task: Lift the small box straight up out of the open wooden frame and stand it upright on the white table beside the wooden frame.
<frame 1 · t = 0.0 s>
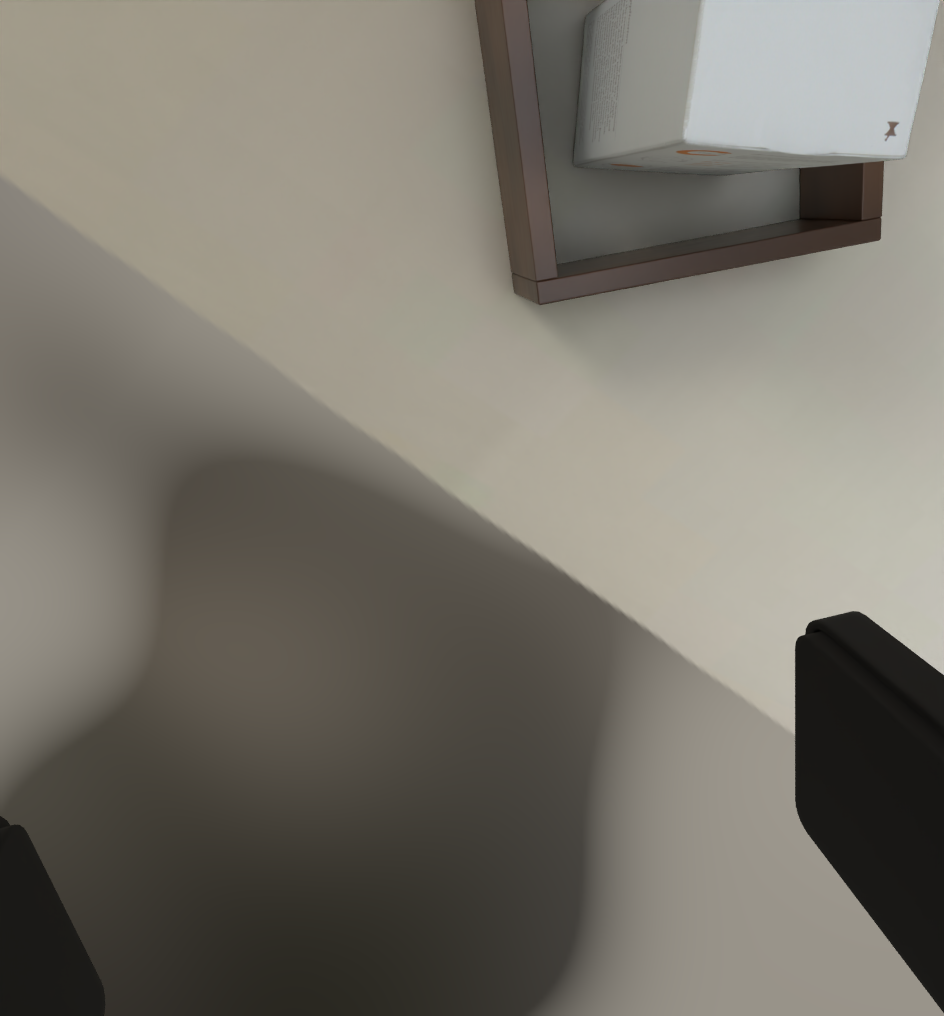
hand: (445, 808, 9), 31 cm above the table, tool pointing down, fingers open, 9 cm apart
small box: (657, 98, 36), resting in wooden frame
wooden frame: (658, 97, 36), on the table
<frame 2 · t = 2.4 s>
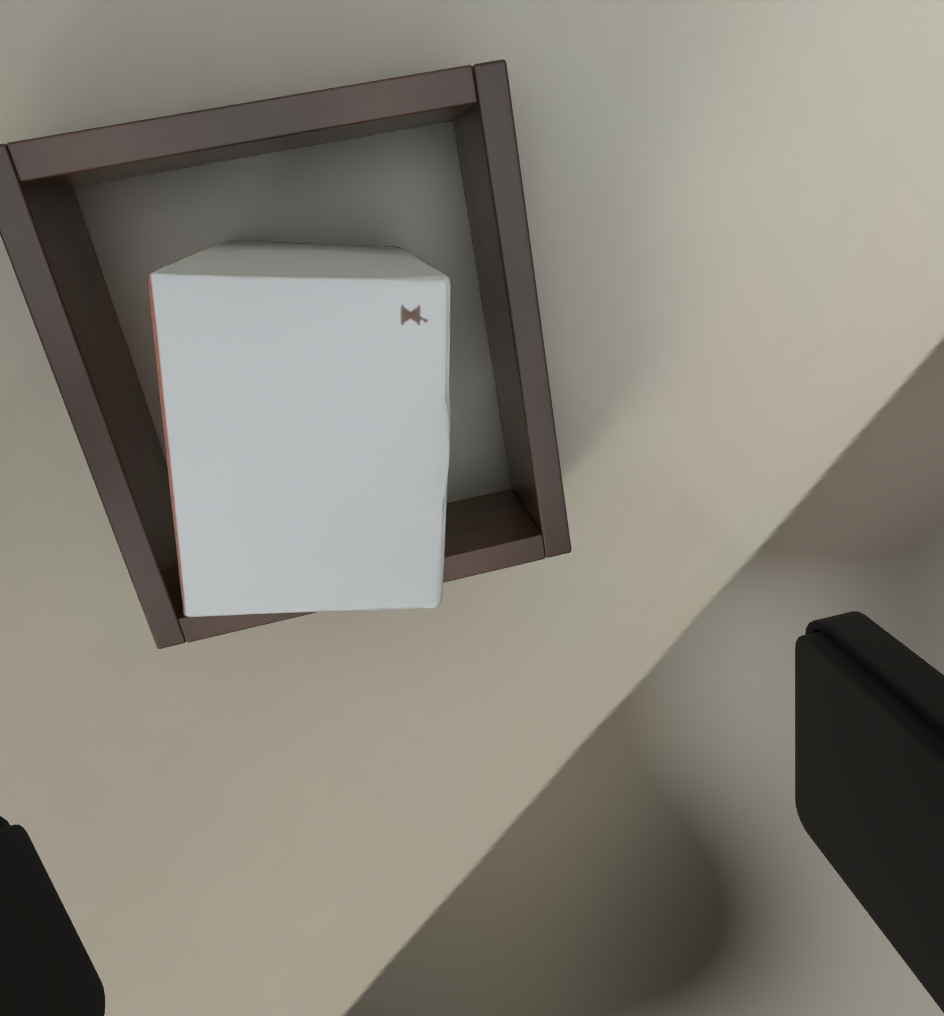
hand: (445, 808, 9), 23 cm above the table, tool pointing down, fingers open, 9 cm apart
small box: (317, 353, 30), resting in wooden frame
wooden frame: (317, 354, 29), on the table
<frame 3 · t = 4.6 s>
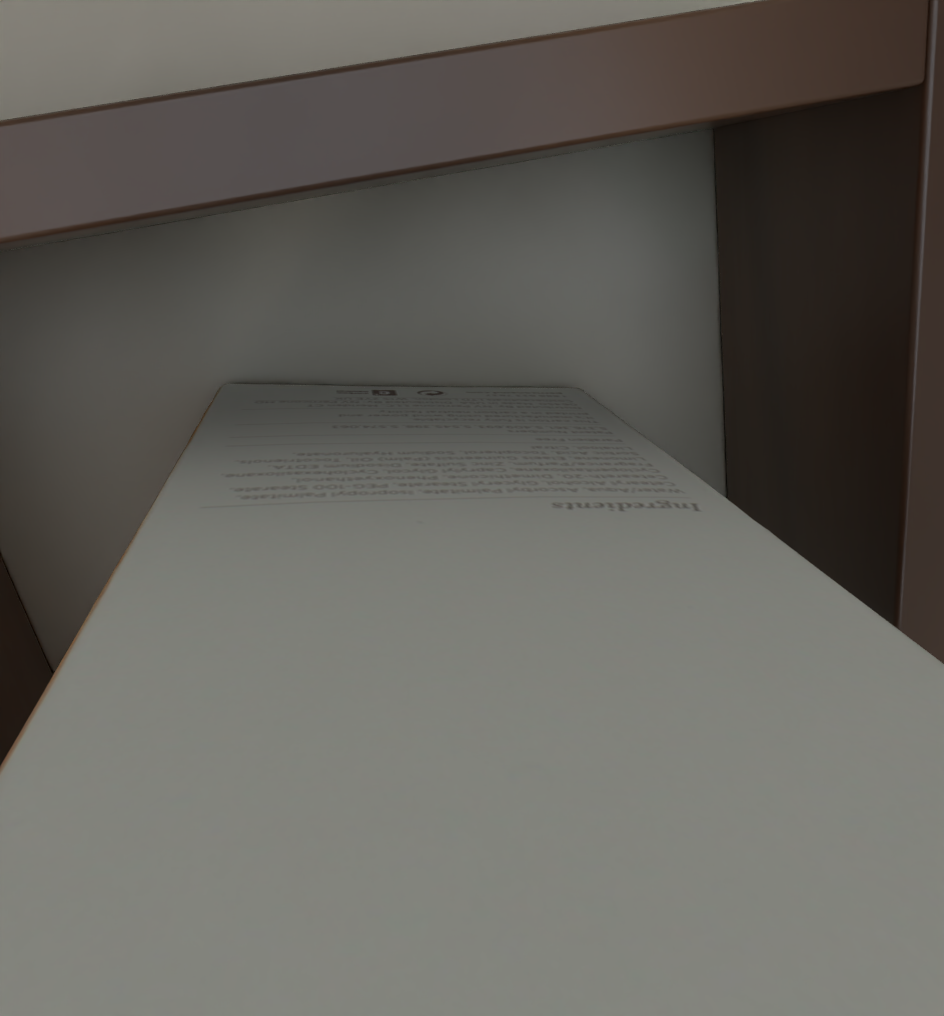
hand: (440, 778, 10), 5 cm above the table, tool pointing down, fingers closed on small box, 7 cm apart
small box: (402, 585, 15), resting in wooden frame, touching gripper
wooden frame: (403, 589, 15), on the table
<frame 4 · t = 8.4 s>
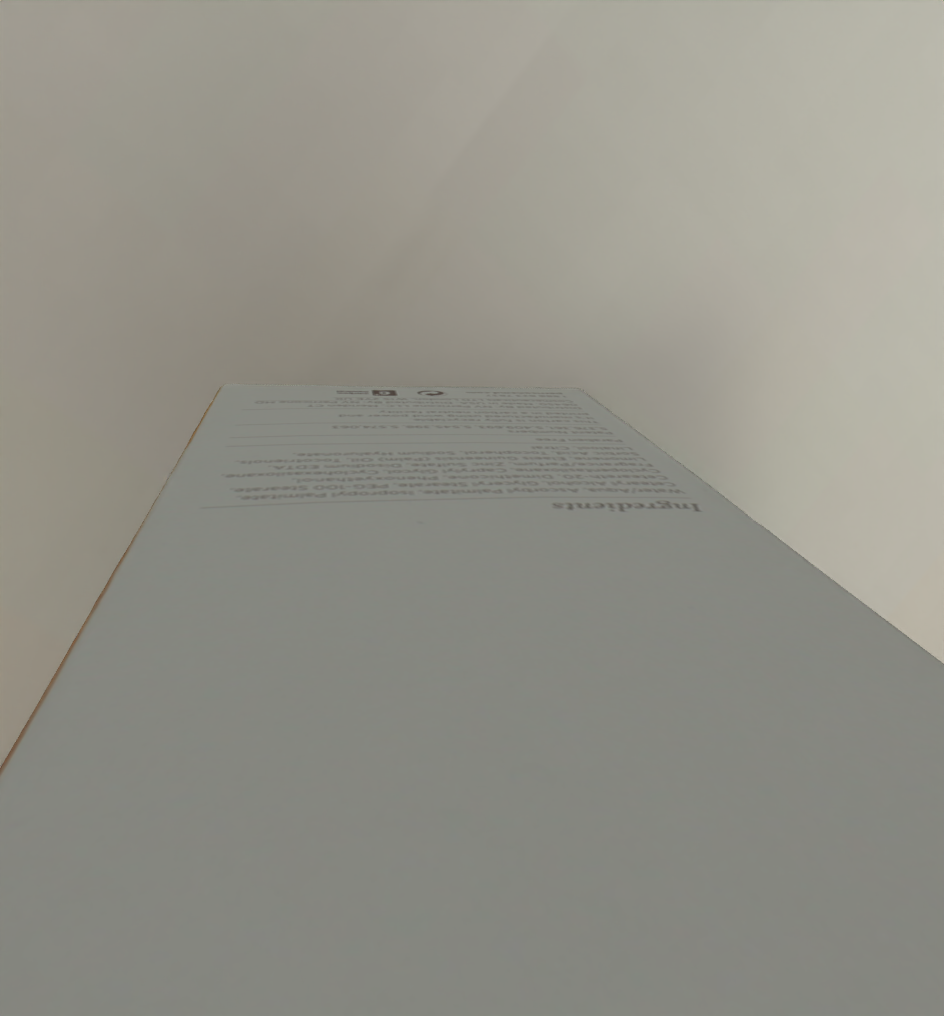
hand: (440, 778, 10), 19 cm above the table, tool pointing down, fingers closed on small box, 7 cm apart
small box: (402, 585, 15), point 14 cm above the table, touching gripper
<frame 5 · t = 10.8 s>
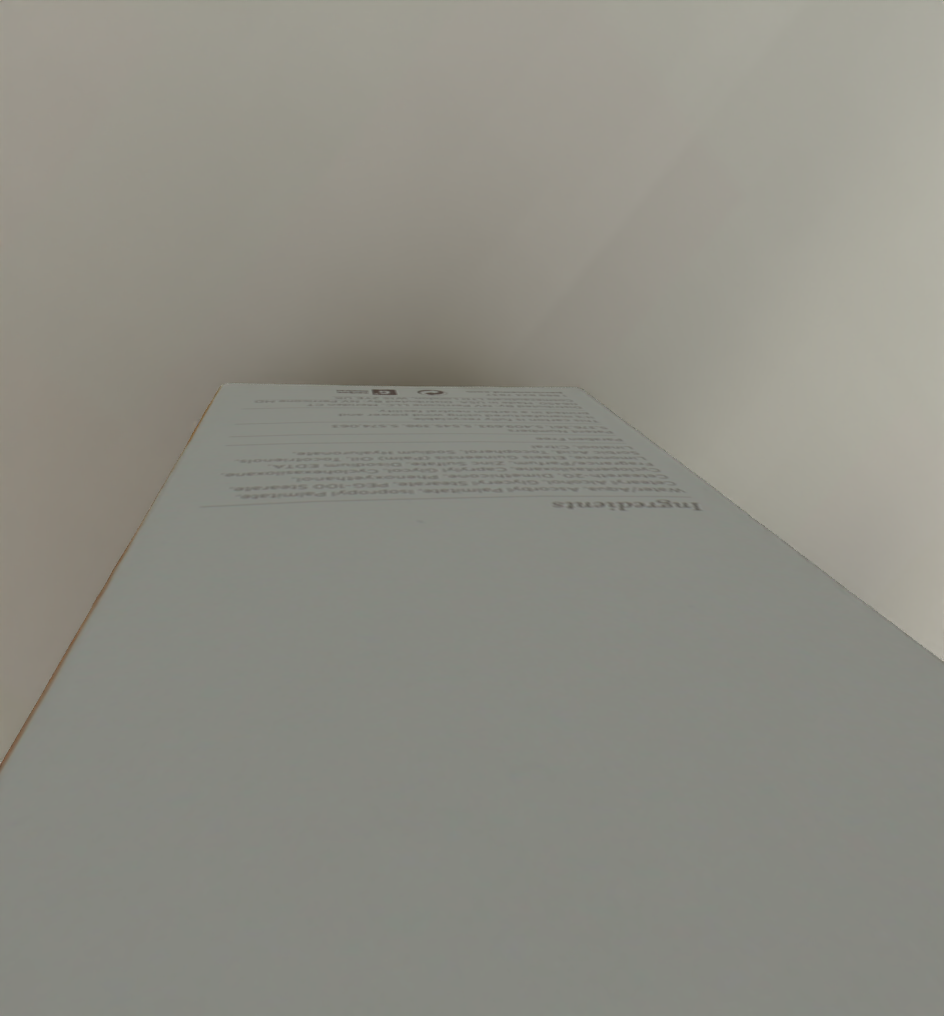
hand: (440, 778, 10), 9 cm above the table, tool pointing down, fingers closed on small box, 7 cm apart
small box: (402, 585, 15), point 4 cm above the table, touching gripper
when the fingers open (5 cm above the table, at t = 12.3 s): small box stays where it is, on the table.
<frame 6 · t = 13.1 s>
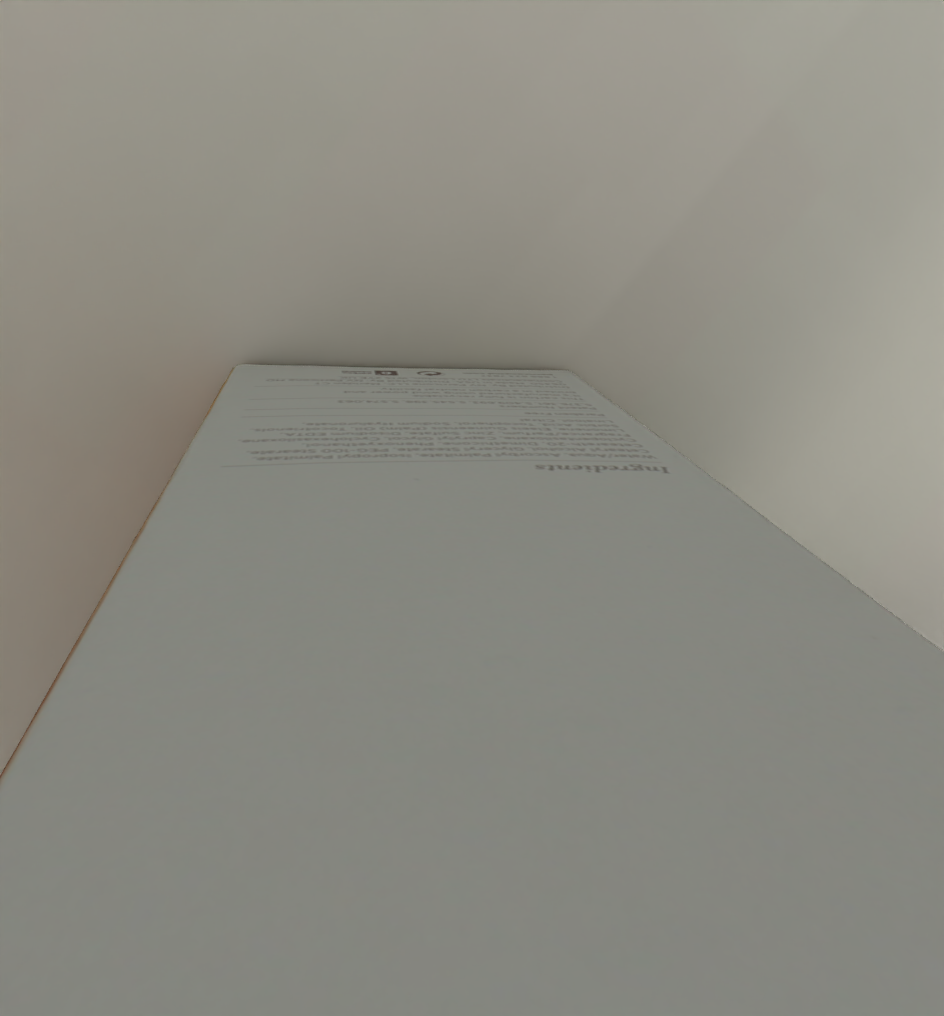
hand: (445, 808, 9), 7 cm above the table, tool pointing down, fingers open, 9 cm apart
small box: (403, 557, 16), on the table
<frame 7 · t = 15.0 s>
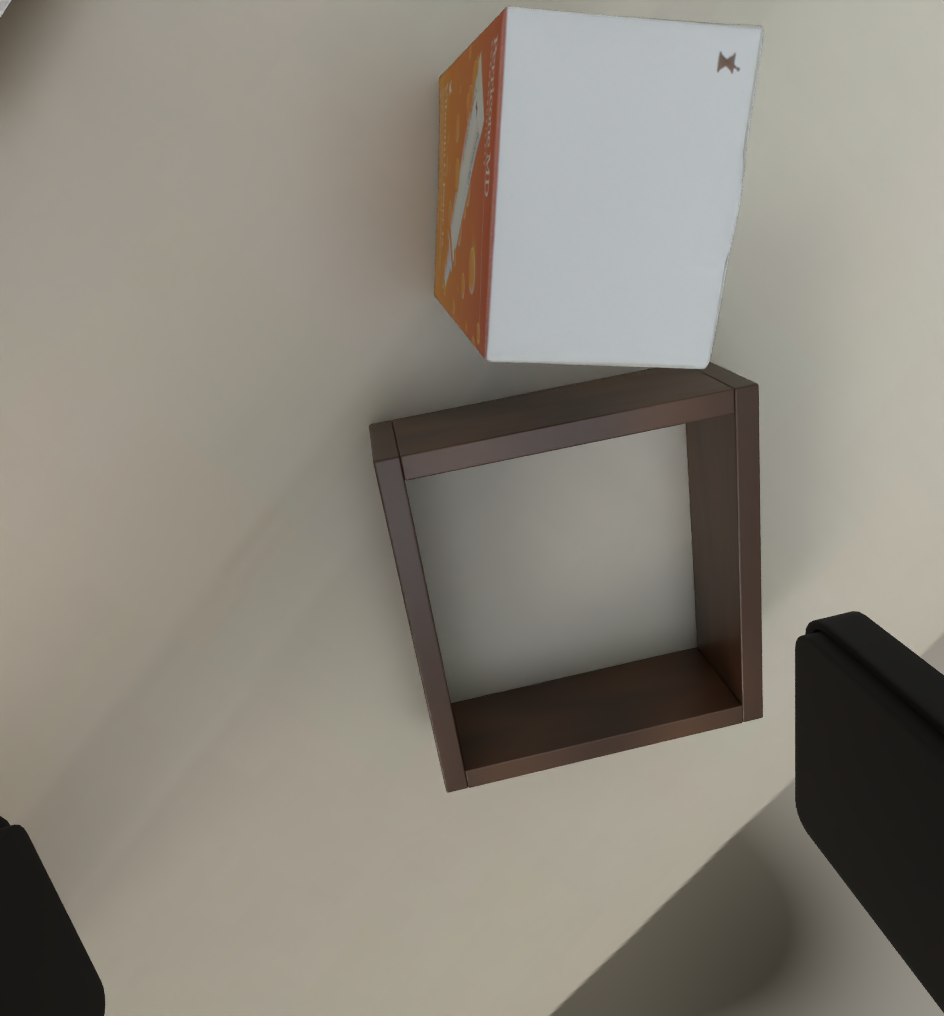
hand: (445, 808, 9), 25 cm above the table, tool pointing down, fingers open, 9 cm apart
small box: (511, 196, 31), on the table
wooden frame: (559, 553, 37), on the table
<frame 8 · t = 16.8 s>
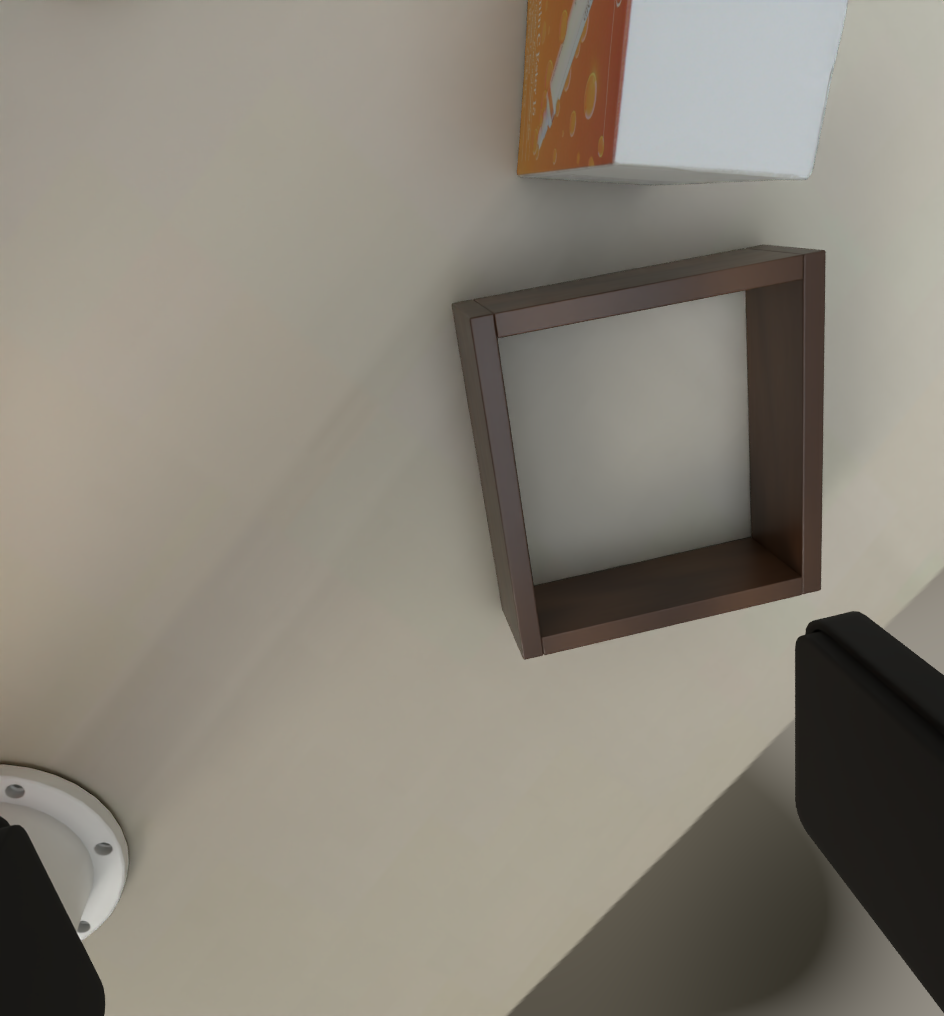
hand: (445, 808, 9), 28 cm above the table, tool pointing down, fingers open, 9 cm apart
small box: (590, 80, 33), on the table
wooden frame: (625, 438, 39), on the table
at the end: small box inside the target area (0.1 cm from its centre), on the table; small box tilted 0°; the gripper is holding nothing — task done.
